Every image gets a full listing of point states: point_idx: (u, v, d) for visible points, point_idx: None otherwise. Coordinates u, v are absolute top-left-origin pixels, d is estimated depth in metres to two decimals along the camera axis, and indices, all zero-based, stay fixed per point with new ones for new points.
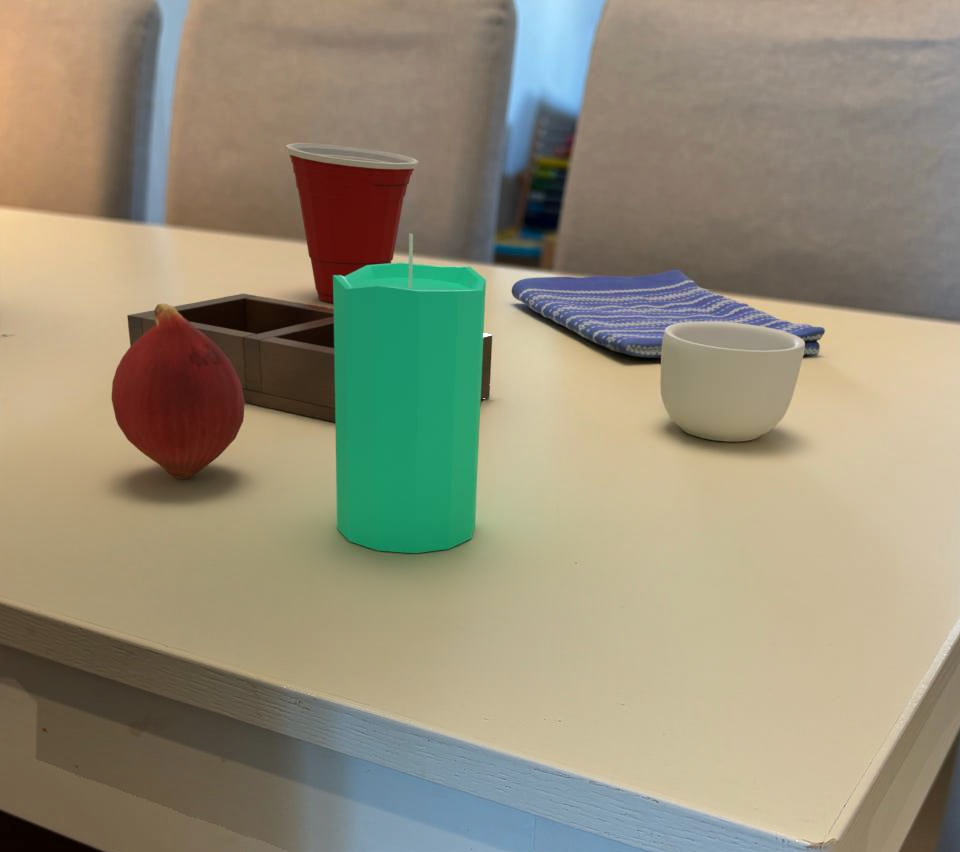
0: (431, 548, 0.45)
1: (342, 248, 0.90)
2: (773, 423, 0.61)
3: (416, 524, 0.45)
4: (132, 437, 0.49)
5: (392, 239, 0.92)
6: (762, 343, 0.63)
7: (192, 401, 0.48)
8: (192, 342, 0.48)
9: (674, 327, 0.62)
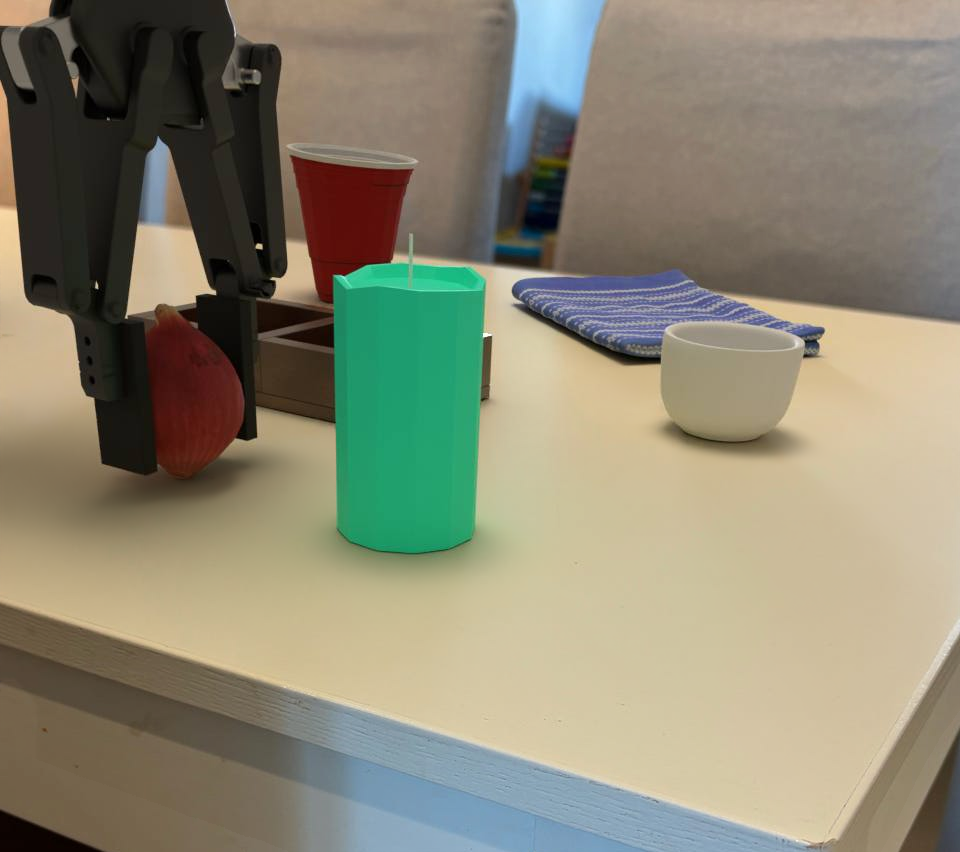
0: (431, 548, 0.45)
1: (342, 248, 0.90)
2: (773, 423, 0.61)
3: (416, 524, 0.45)
4: None
5: (392, 239, 0.92)
6: (762, 343, 0.63)
7: (192, 401, 0.48)
8: (192, 342, 0.48)
9: (674, 327, 0.62)
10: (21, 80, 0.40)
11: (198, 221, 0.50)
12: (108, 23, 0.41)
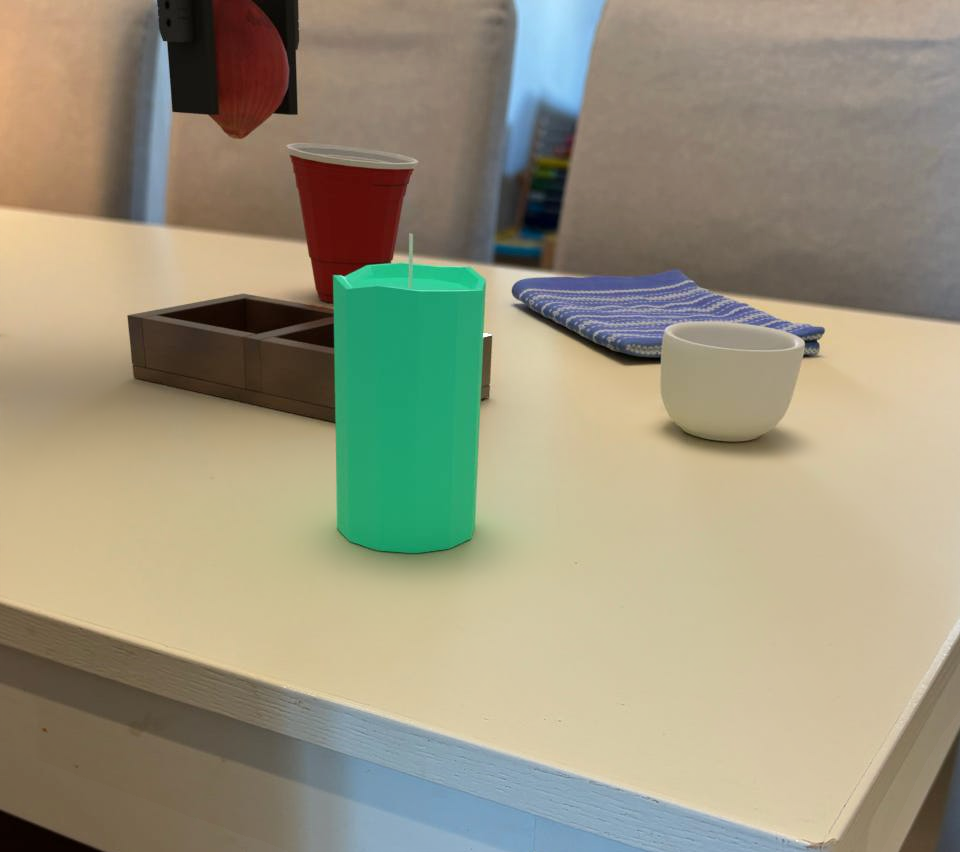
0: (431, 548, 0.45)
1: (342, 248, 0.90)
2: (773, 423, 0.61)
3: (416, 524, 0.45)
4: None
5: (392, 239, 0.92)
6: (762, 343, 0.63)
7: (248, 53, 0.59)
8: (248, 6, 0.59)
9: (674, 327, 0.62)
10: None
11: None
12: None
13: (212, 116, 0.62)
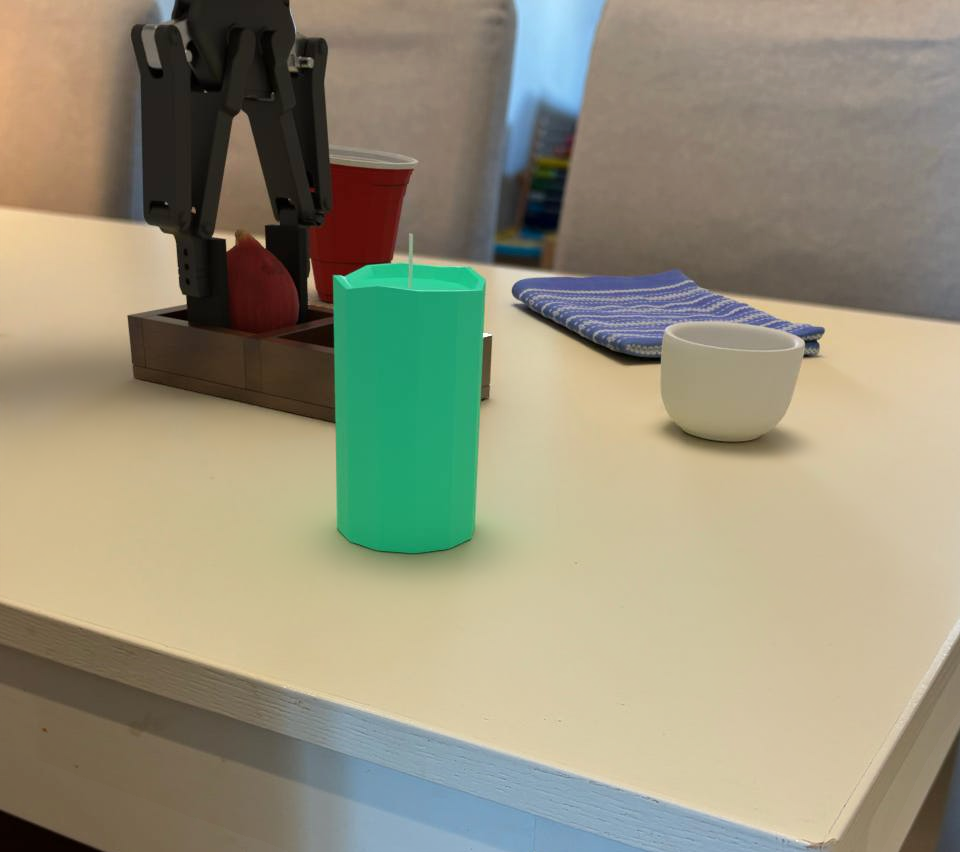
0: (431, 548, 0.45)
1: (342, 248, 0.90)
2: (773, 423, 0.61)
3: (416, 524, 0.45)
4: None
5: (392, 239, 0.92)
6: (762, 343, 0.63)
7: (263, 300, 0.65)
8: (263, 257, 0.66)
9: (674, 327, 0.62)
10: (153, 61, 0.57)
11: (268, 169, 0.67)
12: (212, 24, 0.58)
13: None
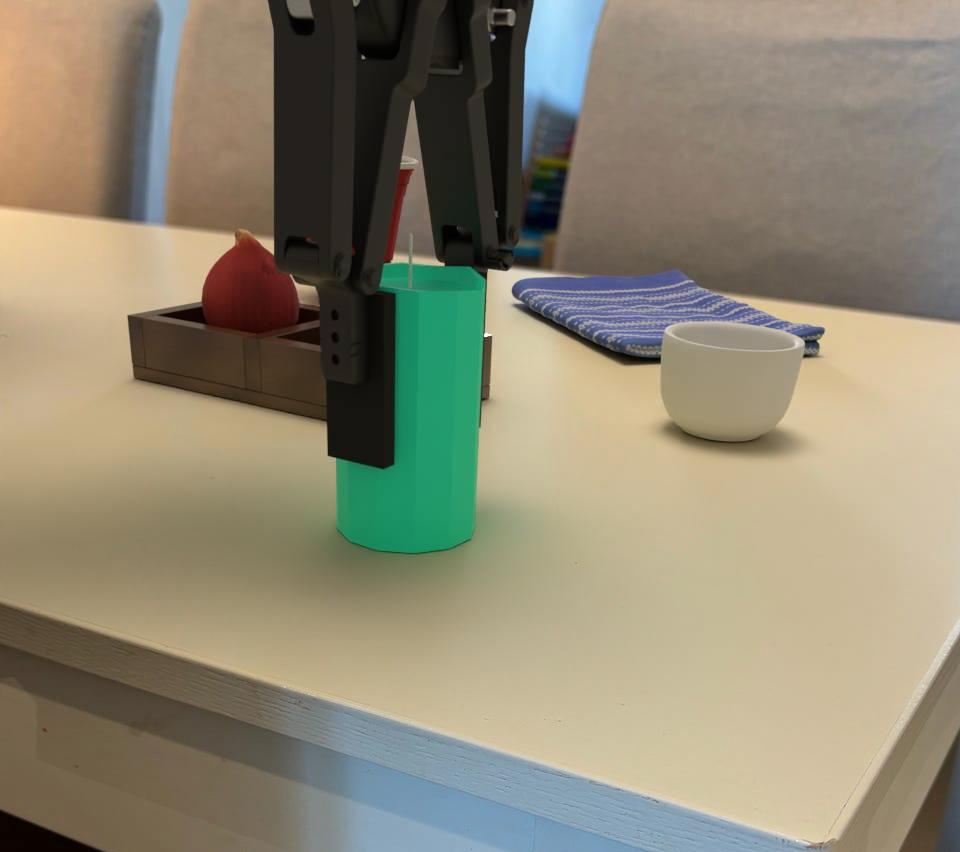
0: (431, 548, 0.45)
1: None
2: (773, 423, 0.61)
3: (416, 524, 0.45)
4: None
5: (392, 239, 0.92)
6: (762, 343, 0.63)
7: (263, 300, 0.65)
8: (263, 257, 0.66)
9: (674, 327, 0.62)
10: (298, 7, 0.34)
11: (435, 182, 0.44)
12: None
13: None
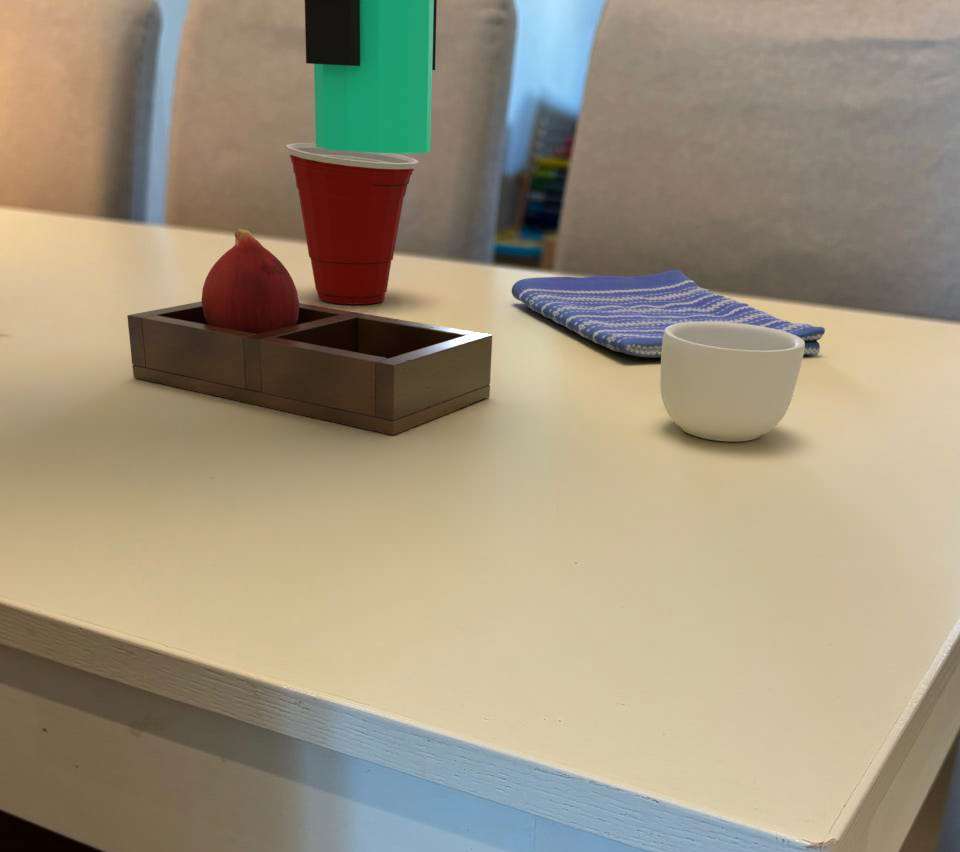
0: (392, 150, 0.55)
1: (342, 248, 0.90)
2: (773, 423, 0.61)
3: (379, 125, 0.55)
4: None
5: (392, 239, 0.92)
6: (762, 343, 0.63)
7: (263, 300, 0.65)
8: (263, 257, 0.66)
9: (674, 327, 0.62)
10: None
11: None
12: None
13: None
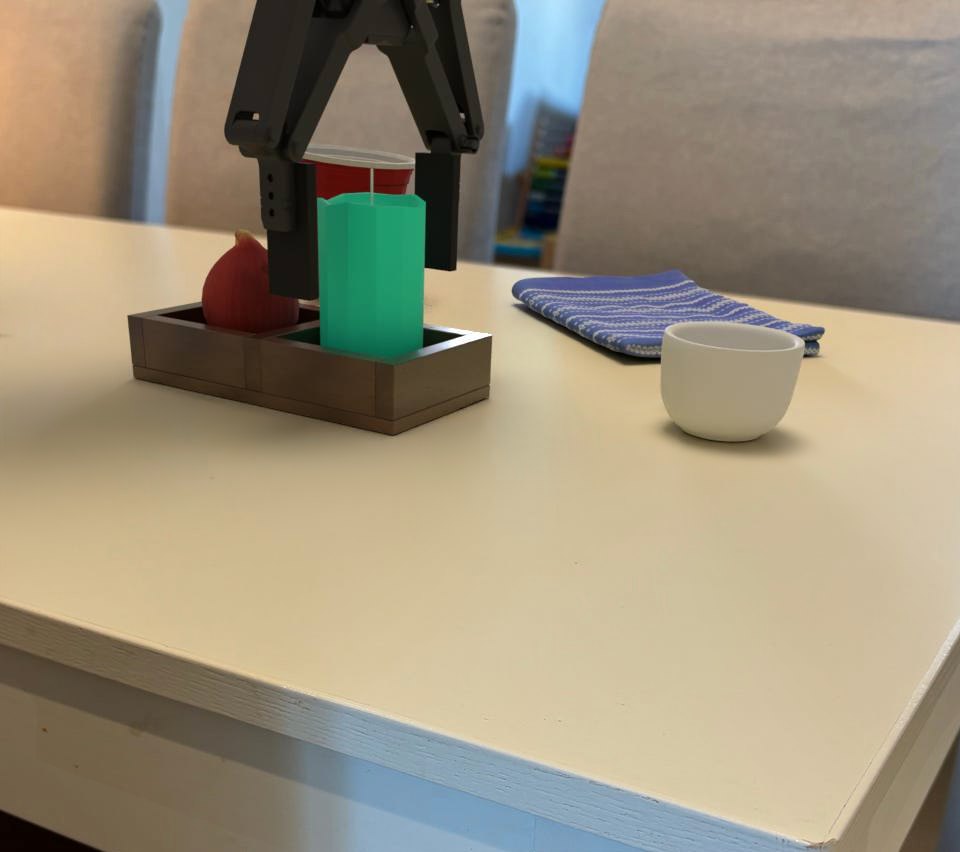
0: None
1: None
2: (773, 423, 0.61)
3: None
4: None
5: None
6: (762, 343, 0.63)
7: (263, 300, 0.65)
8: (263, 257, 0.66)
9: (674, 327, 0.62)
10: None
11: (415, 105, 0.63)
12: None
13: None
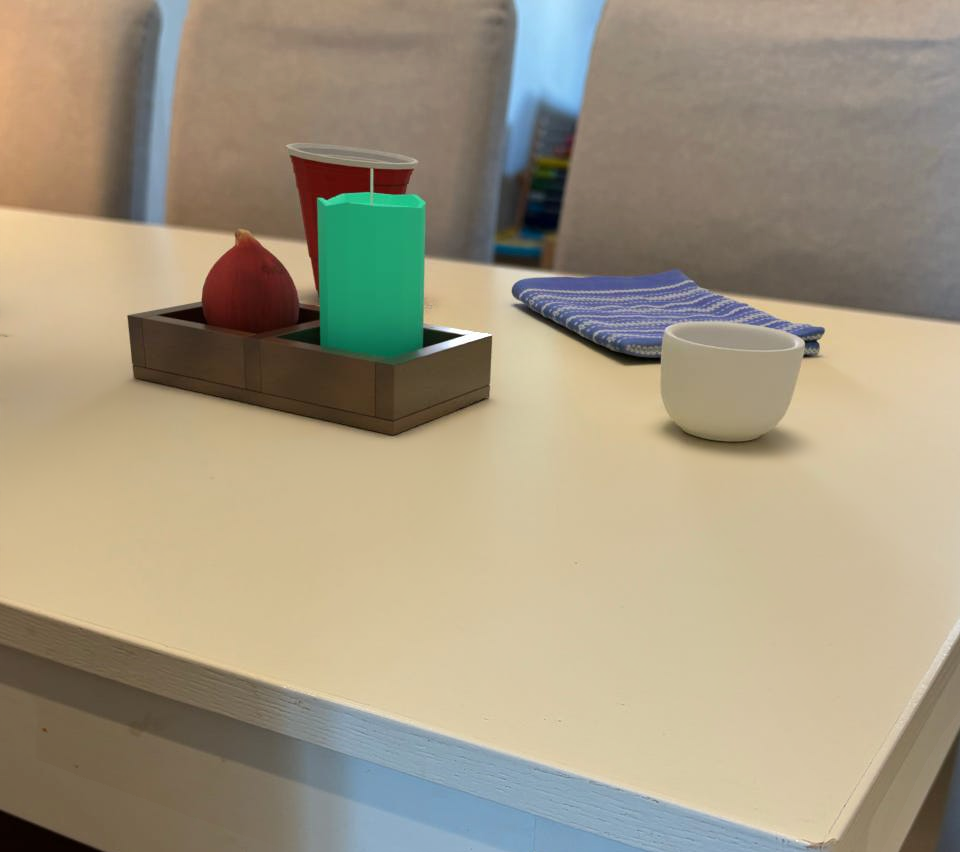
0: None
1: None
2: (773, 423, 0.61)
3: None
4: None
5: None
6: (762, 343, 0.63)
7: (263, 300, 0.65)
8: (263, 257, 0.66)
9: (674, 327, 0.62)
10: None
11: None
12: None
13: None
